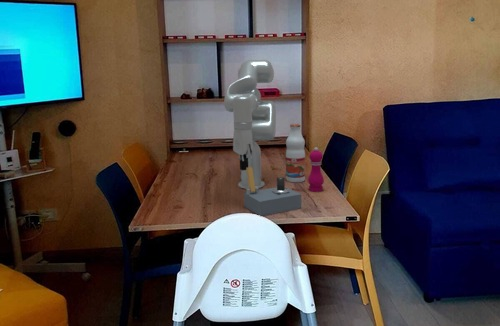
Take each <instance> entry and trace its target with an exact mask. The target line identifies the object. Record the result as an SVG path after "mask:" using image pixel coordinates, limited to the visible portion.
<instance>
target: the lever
mask: <svg viewBox="0 0 500 326" xmlns="http://www.w3.org/2000/svg"><path fill="white" fill-rule="evenodd" d="M246 169H247V177H248V184H249V189H250V193H255V192H256V190H255V183H254V176H253V168H252V167H248V168H246Z"/></svg>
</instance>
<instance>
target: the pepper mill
mask: <svg viewBox="0 0 500 326" xmlns="http://www.w3.org/2000/svg"><path fill="white" fill-rule="evenodd" d="M308 157H309V159H310V162H309V163H310V166H311V170H310V173H309V174H308V175H309V176H308V179H307V183H308V184H309V185H308V191H310V192H315V193H319V192H322V191H323V189H324V186H323V185H324V181H325V180H324V176H323V174H322V171H321V165H322V160H323V157H324V156H323V152H321V151H320V150H319V148H318V147H314V148H313V150H312V151H311V152H309V156H308Z"/></svg>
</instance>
